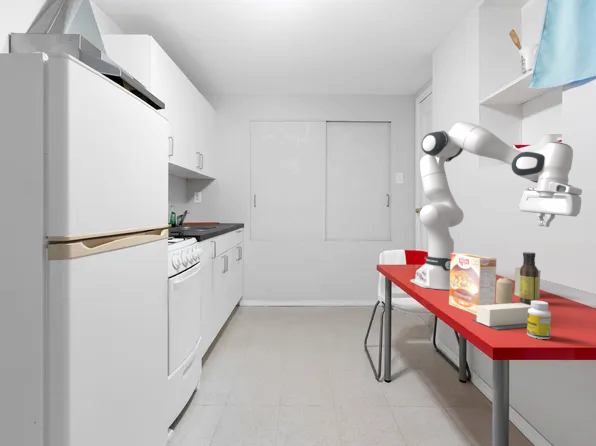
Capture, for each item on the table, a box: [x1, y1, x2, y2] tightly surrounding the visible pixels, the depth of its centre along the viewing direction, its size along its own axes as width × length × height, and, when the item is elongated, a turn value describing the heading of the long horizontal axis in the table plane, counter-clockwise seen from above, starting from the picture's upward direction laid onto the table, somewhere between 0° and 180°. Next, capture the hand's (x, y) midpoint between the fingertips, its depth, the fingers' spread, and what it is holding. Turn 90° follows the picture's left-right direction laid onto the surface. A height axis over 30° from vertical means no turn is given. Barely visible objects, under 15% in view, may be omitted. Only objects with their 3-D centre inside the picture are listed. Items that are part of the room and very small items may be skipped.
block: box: [476, 302, 532, 327], centre depth 110 cm, size 5×5×18 cm
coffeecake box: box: [448, 252, 497, 316], centre depth 125 cm, size 15×7×20 cm, turn 14°
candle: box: [495, 277, 514, 304], centre depth 135 cm, size 6×6×10 cm
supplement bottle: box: [526, 300, 552, 340], centre depth 98 cm, size 5×5×10 cm
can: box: [513, 267, 541, 299], centre depth 150 cm, size 9×9×12 cm
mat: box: [471, 318, 527, 331], centre depth 110 cm, size 10×16×1 cm, turn 106°
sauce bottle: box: [518, 251, 539, 305], centre depth 137 cm, size 6×6×20 cm
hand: (543, 226), depth 126 cm, fingers closed
